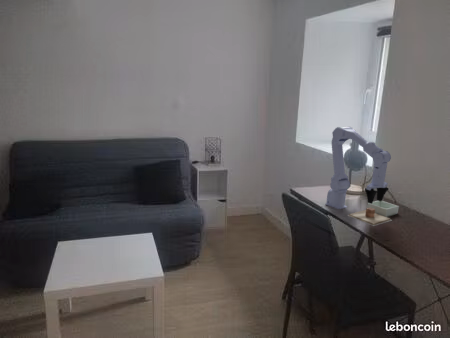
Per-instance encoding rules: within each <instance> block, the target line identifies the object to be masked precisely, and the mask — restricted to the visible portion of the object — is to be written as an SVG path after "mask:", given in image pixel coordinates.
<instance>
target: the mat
mask: <svg viewBox="0 0 450 338" xmlns="http://www.w3.org/2000/svg"><path fill="white" fill-rule="evenodd" d="M346 216H348V217H350V218H353V219H355V220H357V221H360V222H363V223H365V224H367V225H369V226H370V225H371V226H373V227H375V226H379V225H382V224H386V223H388V222H391V221H393V220H392V219H390V220H389V221H385V222H382V223H379V224H376V225H372V224H369V223H367V222H364V221H362V220H359V219H357V218H354V217H351V216H349V214H347V215H346Z"/></svg>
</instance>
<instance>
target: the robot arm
mask: <svg viewBox="0 0 450 338" xmlns="http://www.w3.org/2000/svg"><path fill="white" fill-rule="evenodd" d="M331 135H332V138H331V152H332V153H331V154H332V162H333V172H334V173H333V175H332V176H331V179H330V186H329V187H330V189H329V190H327V191H328V192H327V196H326V202H325V205H326V206H328V207H332V208H335V209H337V210H341V209H344V208H345V209H346V208H348V206H347V205H346V198H347V197H346V196H347V191H348V189H350V187H351V183H350V180H349V177H348V175H347V174H346V170H345V160H344V150H343V145H344V144H345V142H347V141H348V140H352V141H353V142H355V143H356V144H358V145H359V146H361V147H362V149H363V152H365V153H366V154H367V155H368V156H370V158H372V162H373V171H372V178H371V183H369V184H368V185H366V187H365V188H364V191H365V194H366V196H367V199H366V200H367V204H368V203H371V204H372V203H373V202H374V201H375V200H374V199H375V196H376V201H383V198H384V197H385V195H386V193H387V192H388V190H389V187H388V185H389V184H388V183H389V182H386V181H385V180H386V174H387V168H388V163H389V162H390V161H391V159H392V157H391V153H390V152H389V151H388V150H384V149H383V148H382V147H379V146H378V145H376V143H375V142H374V141H367V140H366V139H365V138H364V137H362V136H361V134H359V133H358V132H357V131H356V129H354V128H353V127H351V126H343V127H341V126H337V127H335V129H333V131H332V133H331ZM375 189H376V190H375Z"/></svg>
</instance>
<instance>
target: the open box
mask: <svg viewBox="0 0 450 338" xmlns="http://www.w3.org/2000/svg"><path fill="white" fill-rule="evenodd" d="M366 208H373V209H375V213H376V214H379V215H382V216H385V217H388V218H389V217H391V216H394V215H397V214H398V213H399V208H400V206H399V205H396V204H393V203H391V202H387V201H384V200H382V201H378V200H373V203H372V204H371V203H368V202H367V206H366Z"/></svg>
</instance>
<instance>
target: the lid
mask: <svg viewBox="0 0 450 338" xmlns="http://www.w3.org/2000/svg"><path fill="white" fill-rule="evenodd" d="M348 215H349V216H348V217H350V216H351V217H350V218H352V217H354V218H353V219H355V218H357V219H359V220H358V221H360V220H362V221H364V222H363V223H365V222H367V223H369V224H368V225H370V224H372V225H376V224H379V223H382V222H385V221H389V220H391V217H389V216H388V217H385V216H382V215H379V214H376V213H375V209H373V208H367V207H366V209H364V210H360V211H356V212H353V213H349V214H348ZM357 219H356V220H357ZM362 221H361V222H362ZM389 222H390V221H389ZM367 223H366V224H367ZM382 224H383V223H382ZM372 225H371V226H372ZM379 225H380V224H379ZM376 226H377V225H376Z"/></svg>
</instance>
